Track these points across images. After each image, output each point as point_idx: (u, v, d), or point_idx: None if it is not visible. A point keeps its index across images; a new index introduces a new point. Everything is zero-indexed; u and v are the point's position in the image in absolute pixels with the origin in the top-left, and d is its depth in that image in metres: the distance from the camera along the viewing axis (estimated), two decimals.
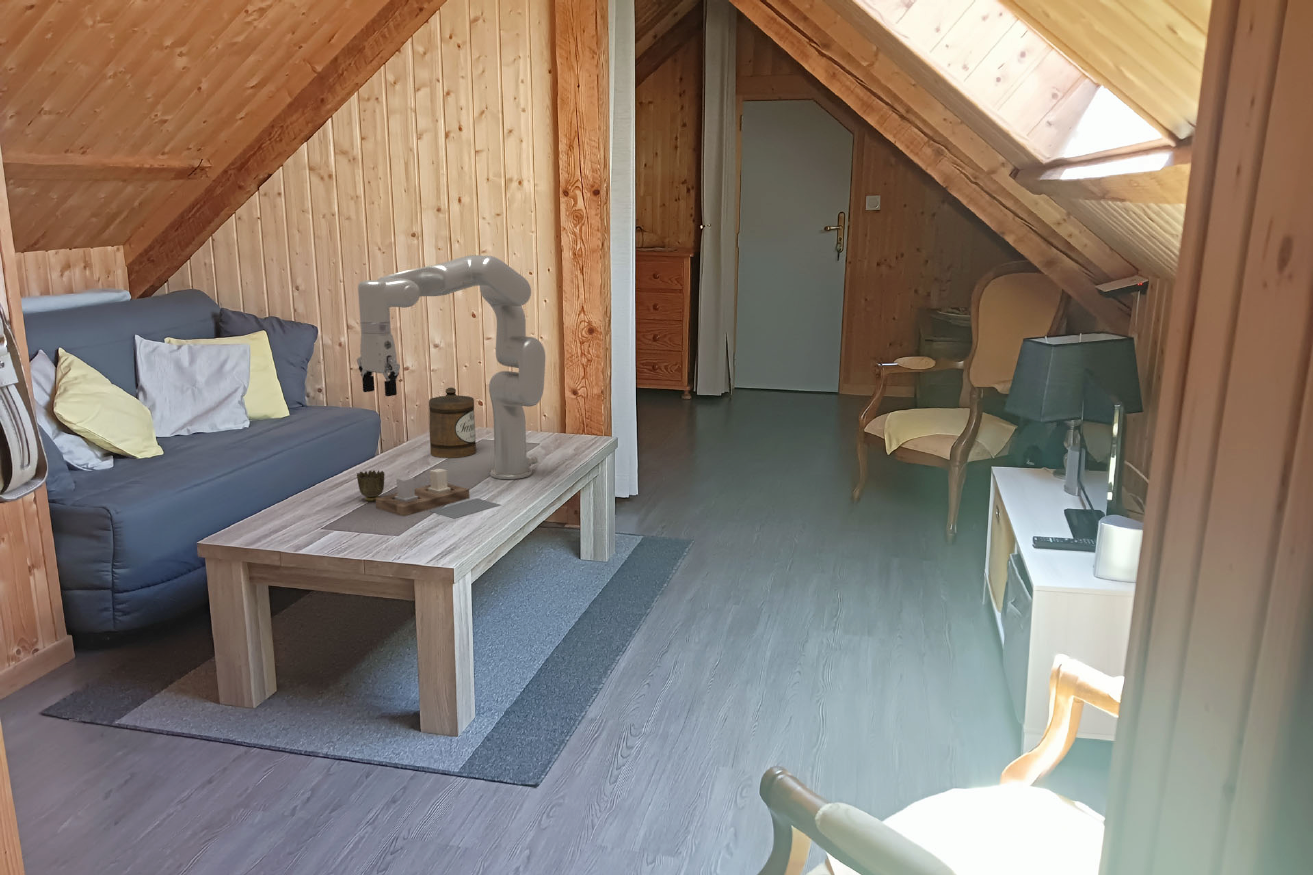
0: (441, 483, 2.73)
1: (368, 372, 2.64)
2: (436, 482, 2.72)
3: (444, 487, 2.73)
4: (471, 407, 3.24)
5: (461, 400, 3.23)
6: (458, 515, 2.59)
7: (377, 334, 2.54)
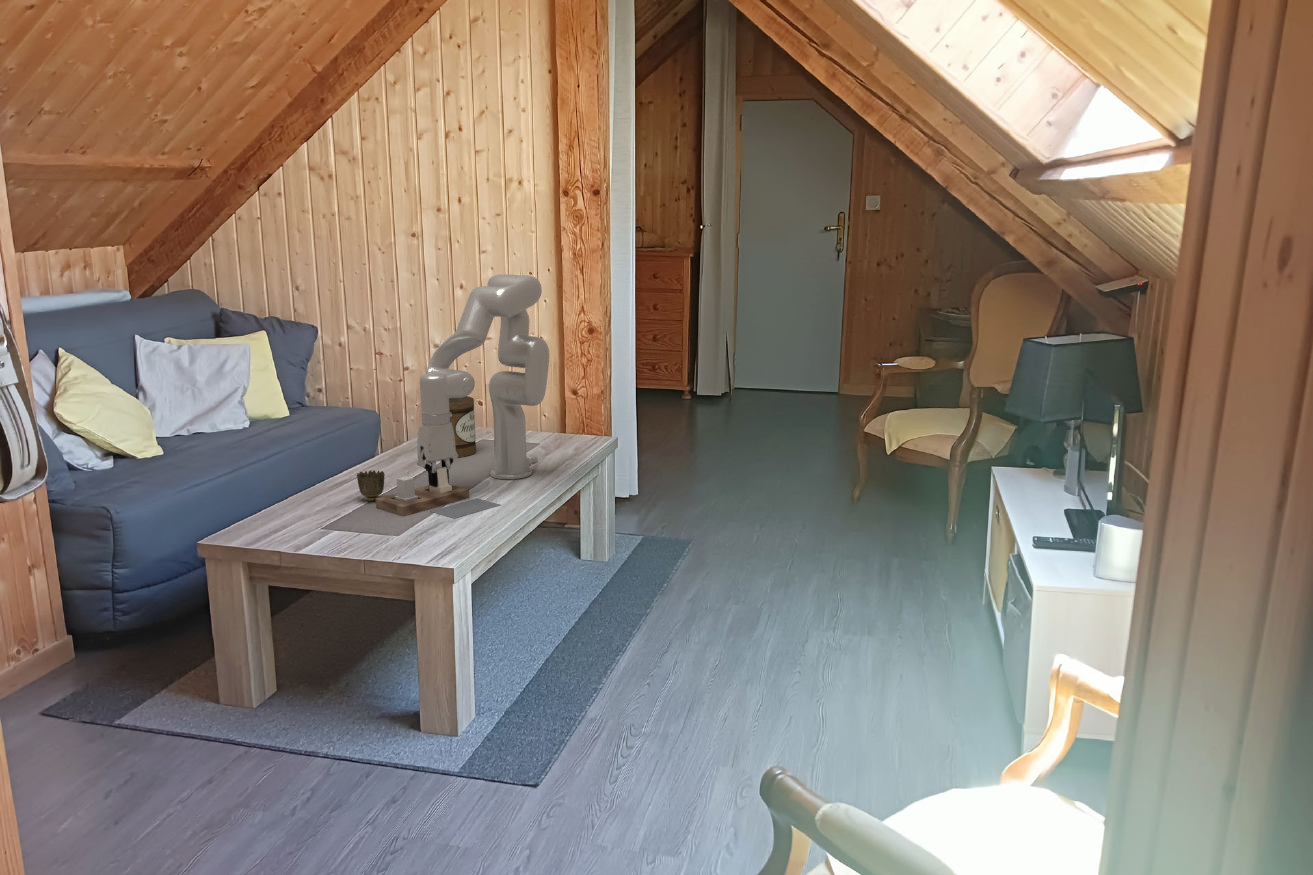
0: (442, 480, 2.72)
1: None
2: (437, 479, 2.71)
3: (445, 484, 2.73)
4: (471, 407, 3.24)
5: (461, 400, 3.23)
6: (458, 515, 2.59)
7: None
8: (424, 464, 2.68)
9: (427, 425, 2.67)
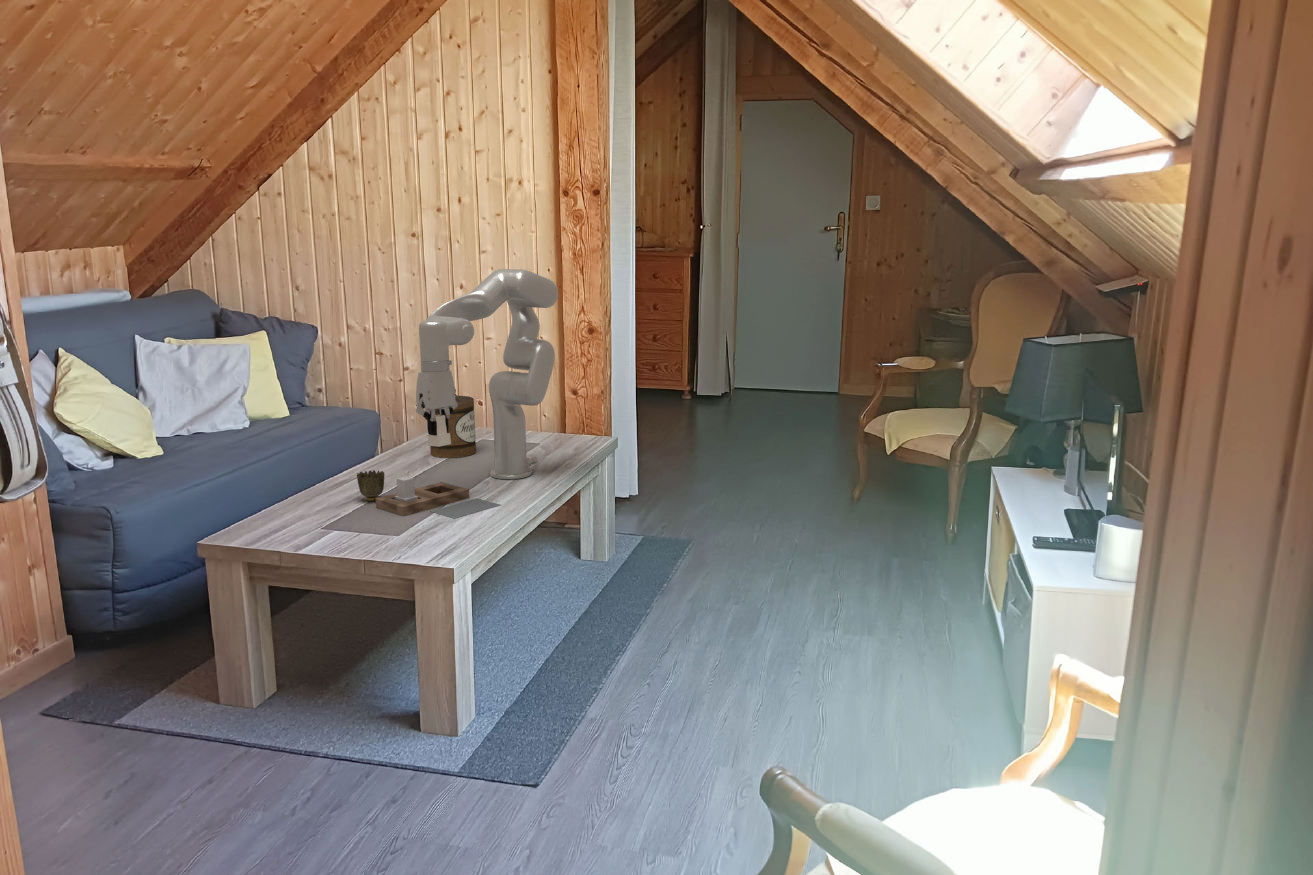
0: (440, 428, 2.68)
1: None
2: None
3: (443, 432, 2.69)
4: (471, 407, 3.24)
5: (461, 400, 3.23)
6: (458, 515, 2.59)
7: None
8: (423, 412, 2.64)
9: (426, 372, 2.63)
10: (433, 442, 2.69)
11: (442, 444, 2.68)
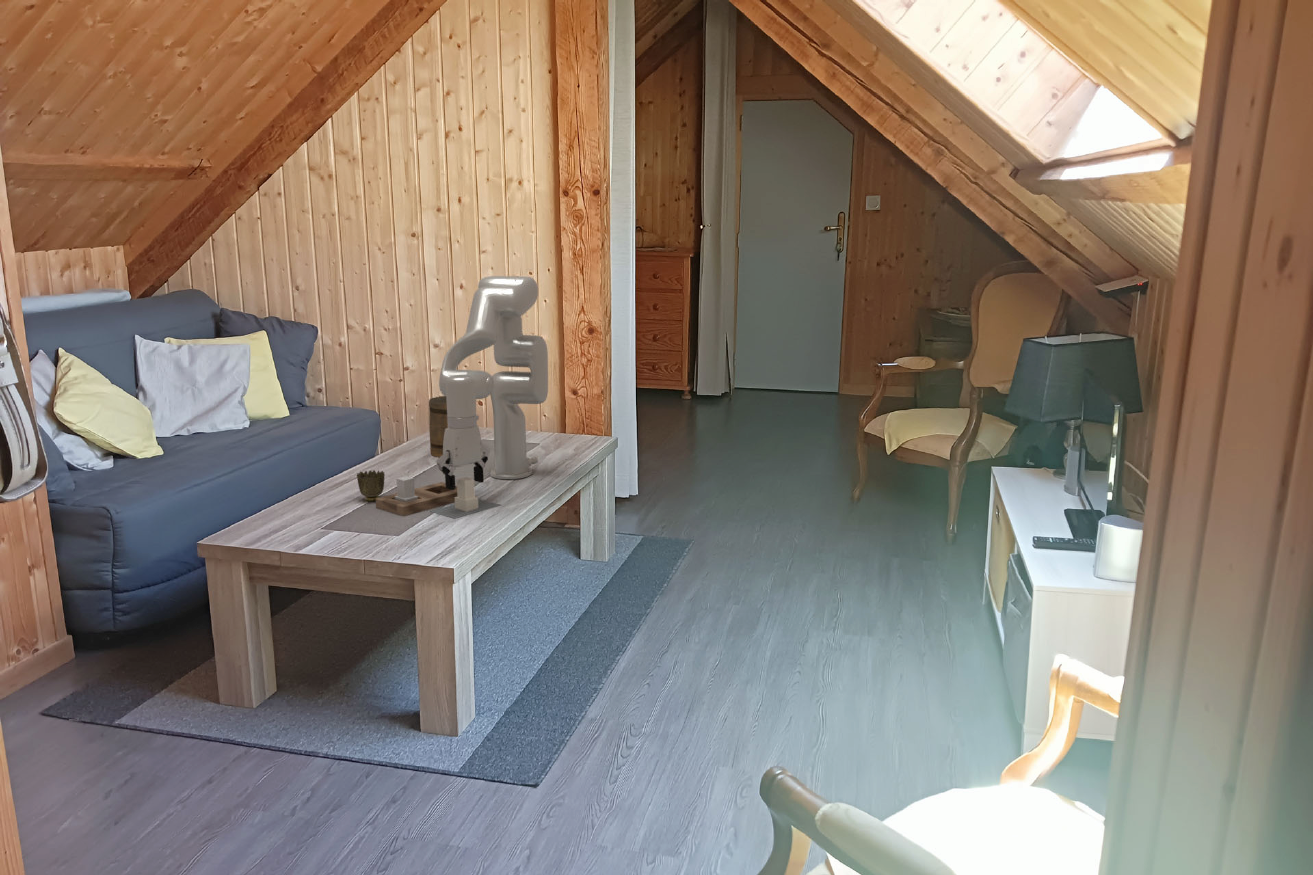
0: (469, 492, 2.63)
1: None
2: (463, 492, 2.62)
3: (471, 496, 2.64)
4: None
5: None
6: (458, 515, 2.59)
7: None
8: (443, 465, 2.57)
9: (453, 428, 2.57)
10: (460, 506, 2.64)
11: (470, 509, 2.63)
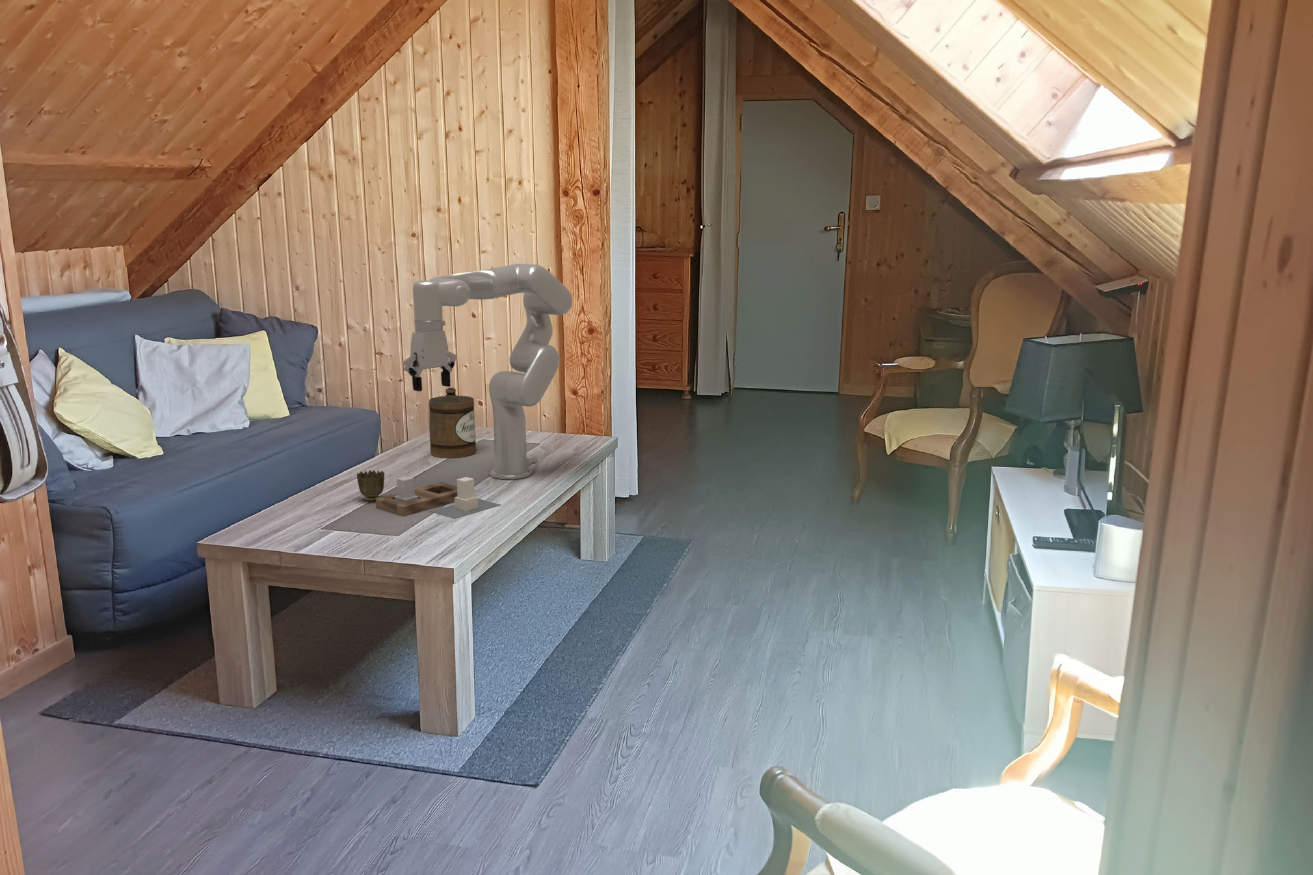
0: (469, 492, 2.63)
1: None
2: (463, 492, 2.62)
3: (471, 496, 2.64)
4: (471, 407, 3.24)
5: (461, 400, 3.23)
6: (458, 515, 2.59)
7: None
8: (409, 366, 2.67)
9: (420, 331, 2.67)
10: (460, 506, 2.64)
11: (470, 509, 2.63)
